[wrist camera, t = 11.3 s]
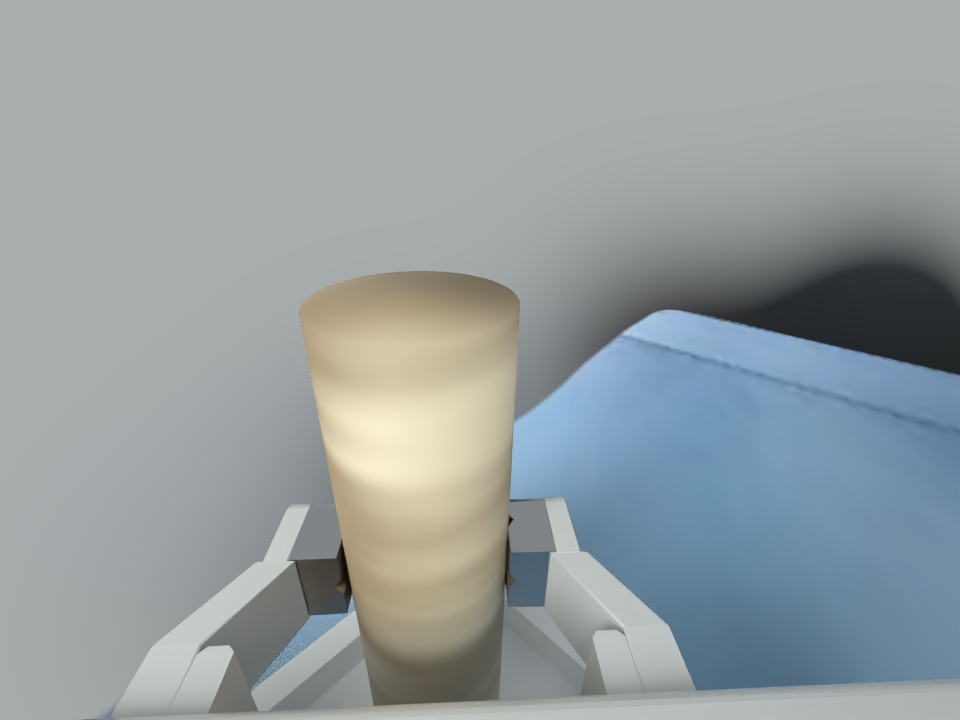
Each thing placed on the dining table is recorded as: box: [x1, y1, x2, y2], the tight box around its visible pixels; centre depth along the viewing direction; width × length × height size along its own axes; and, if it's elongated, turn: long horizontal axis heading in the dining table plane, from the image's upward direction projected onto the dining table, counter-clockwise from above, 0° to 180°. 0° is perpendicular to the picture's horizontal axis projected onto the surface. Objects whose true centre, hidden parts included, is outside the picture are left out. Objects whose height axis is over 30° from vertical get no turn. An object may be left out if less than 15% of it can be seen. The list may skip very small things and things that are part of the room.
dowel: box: [300, 271, 520, 706], centre depth 11 cm, size 4×4×14 cm
